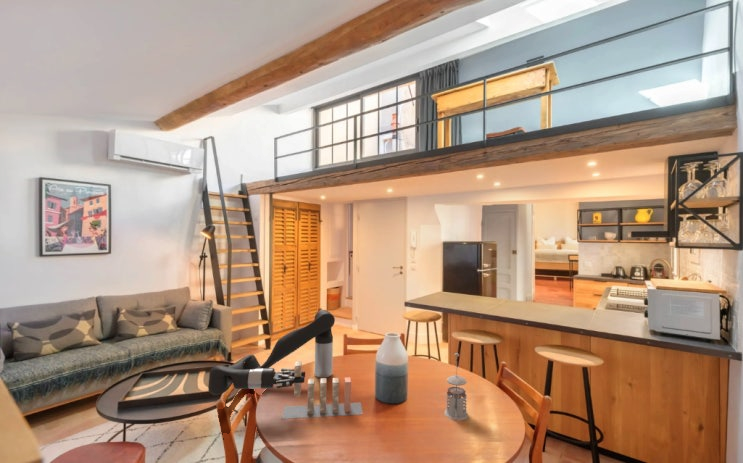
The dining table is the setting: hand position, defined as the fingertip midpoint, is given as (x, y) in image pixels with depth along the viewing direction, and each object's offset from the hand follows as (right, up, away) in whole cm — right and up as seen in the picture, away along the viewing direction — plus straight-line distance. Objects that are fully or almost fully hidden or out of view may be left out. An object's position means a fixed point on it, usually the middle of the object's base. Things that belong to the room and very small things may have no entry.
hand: (304, 377), depth 140 cm
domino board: (+7, -15, +1) cm, 17 cm away
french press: (+62, -16, 0) cm, 64 cm away
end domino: (+17, -14, +2) cm, 23 cm away
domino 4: (+12, -14, +2) cm, 19 cm away
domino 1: (-3, -6, 0) cm, 7 cm away
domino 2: (+2, -14, 0) cm, 14 cm away
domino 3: (+7, -14, +1) cm, 16 cm away
